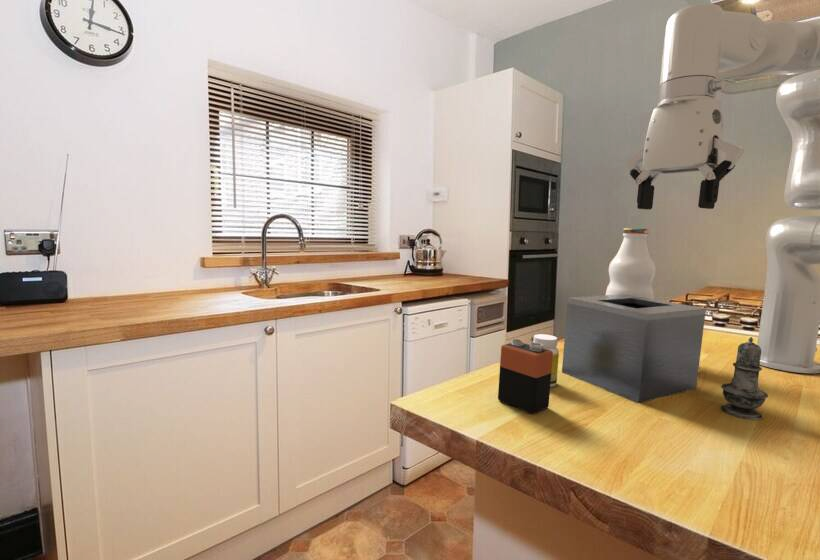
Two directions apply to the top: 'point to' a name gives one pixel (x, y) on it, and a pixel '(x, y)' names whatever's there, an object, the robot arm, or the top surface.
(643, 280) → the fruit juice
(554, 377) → the supplement bottle
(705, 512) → the top surface
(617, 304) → the grey hollow block
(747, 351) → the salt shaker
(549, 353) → the battery
